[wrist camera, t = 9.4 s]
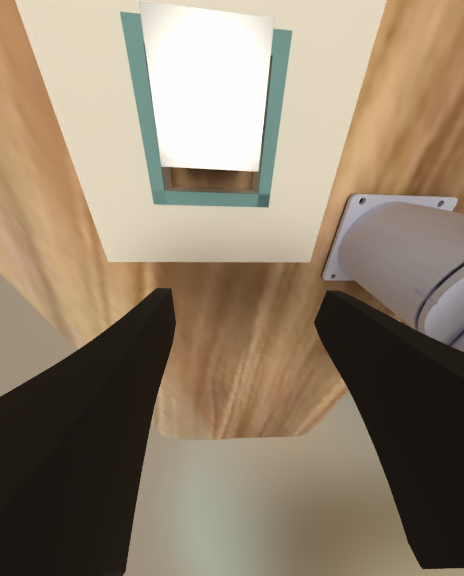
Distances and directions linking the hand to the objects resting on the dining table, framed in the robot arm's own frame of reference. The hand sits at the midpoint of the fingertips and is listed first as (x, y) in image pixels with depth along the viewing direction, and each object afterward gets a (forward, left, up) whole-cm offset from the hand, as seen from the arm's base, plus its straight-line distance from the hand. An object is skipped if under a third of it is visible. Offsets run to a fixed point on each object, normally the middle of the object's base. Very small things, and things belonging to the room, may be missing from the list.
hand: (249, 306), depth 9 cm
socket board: (+2, -7, -9) cm, 12 cm away
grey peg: (+2, -7, -9) cm, 12 cm away
